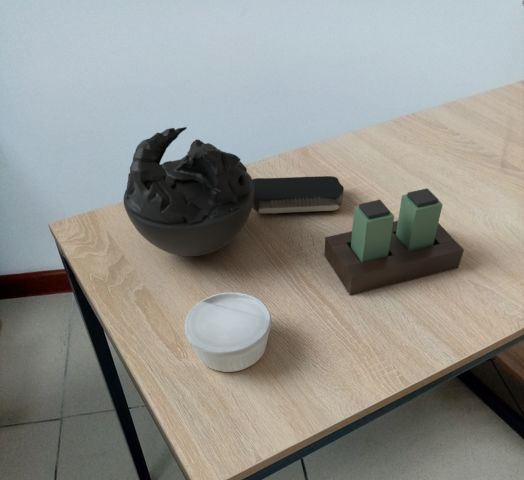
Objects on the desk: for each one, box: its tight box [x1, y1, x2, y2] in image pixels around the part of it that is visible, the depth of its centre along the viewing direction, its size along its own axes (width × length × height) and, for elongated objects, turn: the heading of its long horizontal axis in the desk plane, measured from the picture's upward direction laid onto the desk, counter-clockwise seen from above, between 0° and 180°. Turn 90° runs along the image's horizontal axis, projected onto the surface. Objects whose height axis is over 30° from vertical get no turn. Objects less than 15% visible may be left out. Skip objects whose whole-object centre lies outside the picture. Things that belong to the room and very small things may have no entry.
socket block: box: [323, 220, 464, 296], centre depth 81 cm, size 10×18×4 cm, turn 107°
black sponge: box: [252, 175, 345, 214], centre depth 93 cm, size 16×8×4 cm, turn 90°
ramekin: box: [184, 291, 272, 373], centre depth 70 cm, size 11×11×5 cm
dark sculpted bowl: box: [123, 126, 254, 257], centre depth 81 cm, size 20×20×19 cm
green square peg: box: [351, 199, 395, 263], centre depth 78 cm, size 4×4×11 cm
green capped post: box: [396, 188, 444, 252], centre depth 79 cm, size 4×4×11 cm
